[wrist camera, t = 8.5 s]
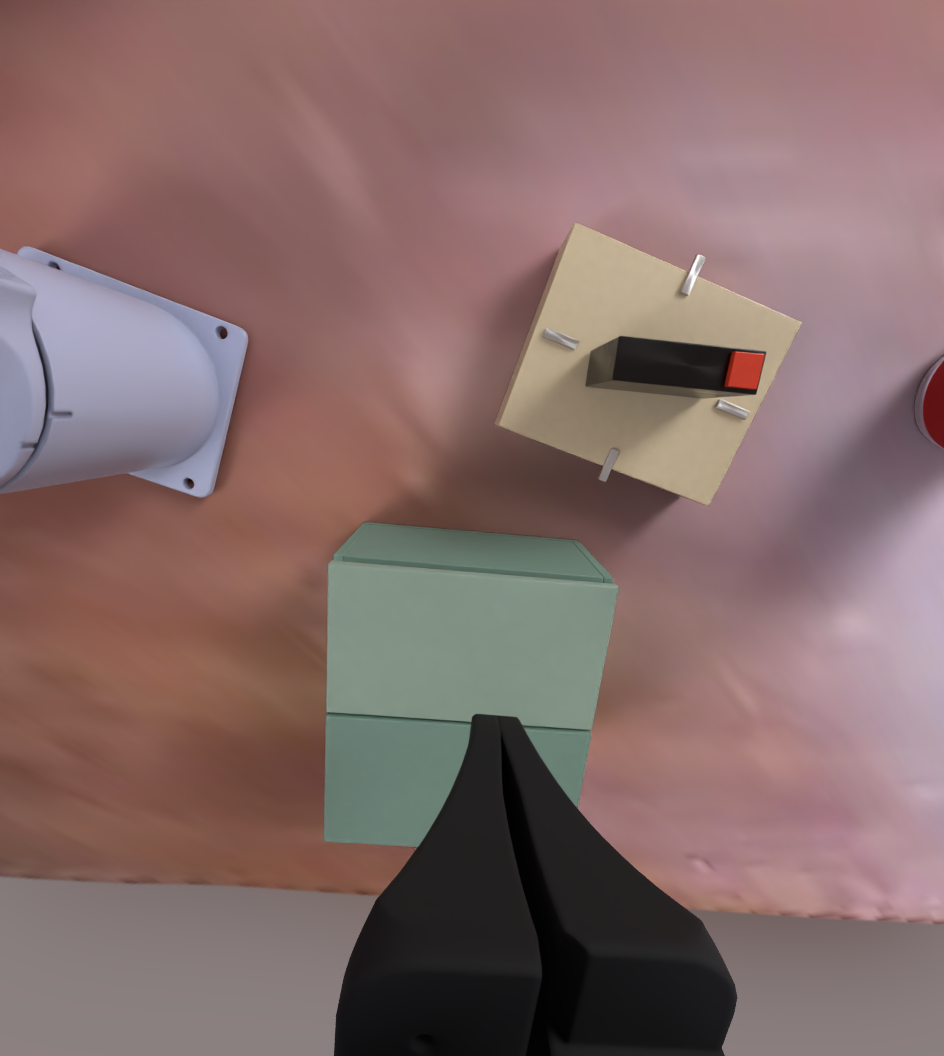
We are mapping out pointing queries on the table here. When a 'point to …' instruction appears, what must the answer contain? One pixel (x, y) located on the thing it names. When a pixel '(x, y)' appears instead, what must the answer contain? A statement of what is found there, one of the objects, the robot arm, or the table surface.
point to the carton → (429, 744)
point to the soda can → (931, 404)
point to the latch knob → (674, 368)
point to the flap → (465, 644)
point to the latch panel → (624, 416)
